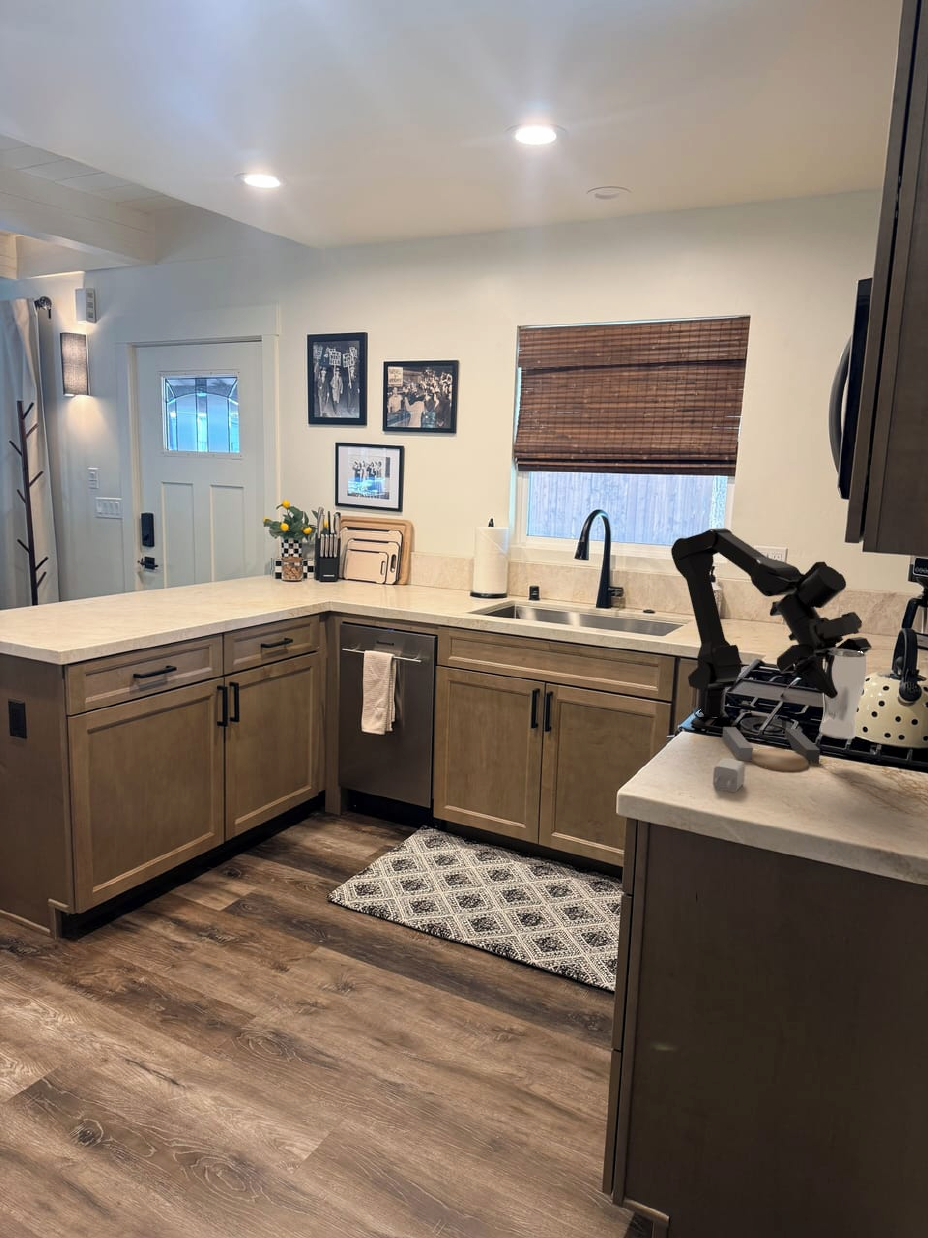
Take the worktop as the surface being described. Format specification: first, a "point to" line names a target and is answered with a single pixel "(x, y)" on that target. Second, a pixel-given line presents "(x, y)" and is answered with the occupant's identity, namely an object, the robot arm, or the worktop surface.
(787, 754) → the coaster
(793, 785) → the worktop surface
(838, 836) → the worktop surface
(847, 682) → the silver metal cup
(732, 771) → the usb wall charger
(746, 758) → the grey square beam
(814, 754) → the long grey square rod
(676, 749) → the worktop surface
